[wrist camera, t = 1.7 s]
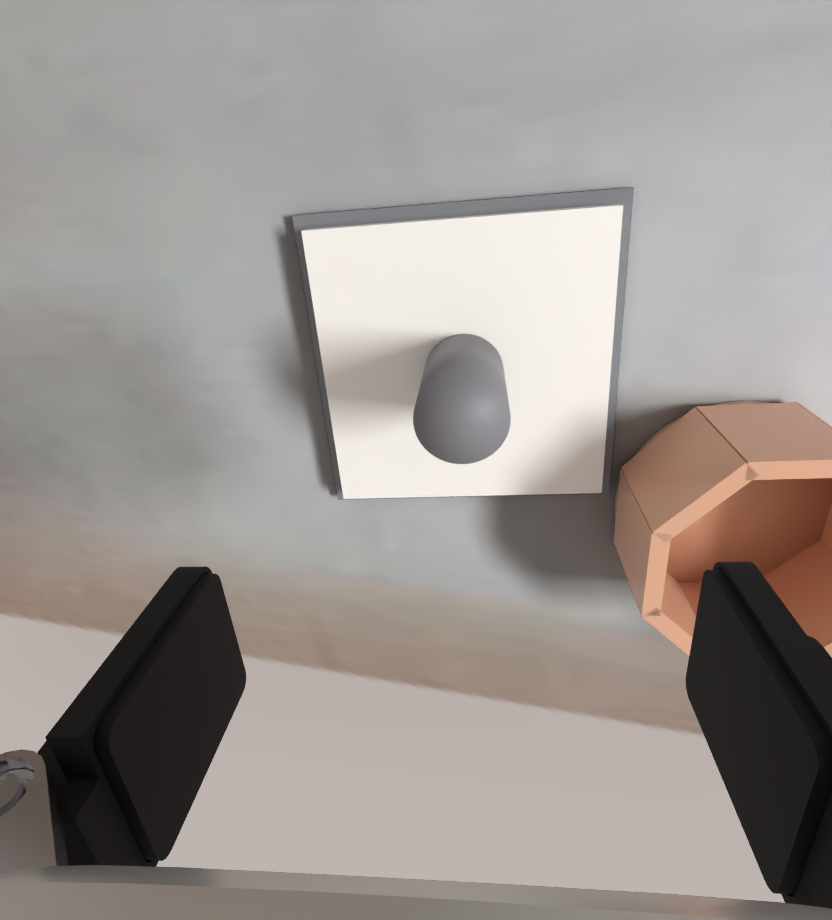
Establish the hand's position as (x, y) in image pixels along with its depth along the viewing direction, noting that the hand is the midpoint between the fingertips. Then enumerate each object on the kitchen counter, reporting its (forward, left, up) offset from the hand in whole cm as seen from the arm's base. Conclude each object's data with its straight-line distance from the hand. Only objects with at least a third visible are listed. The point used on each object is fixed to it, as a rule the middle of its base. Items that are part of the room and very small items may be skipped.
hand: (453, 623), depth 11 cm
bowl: (+6, +12, -15) cm, 20 cm away
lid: (-1, 0, -15) cm, 15 cm away
